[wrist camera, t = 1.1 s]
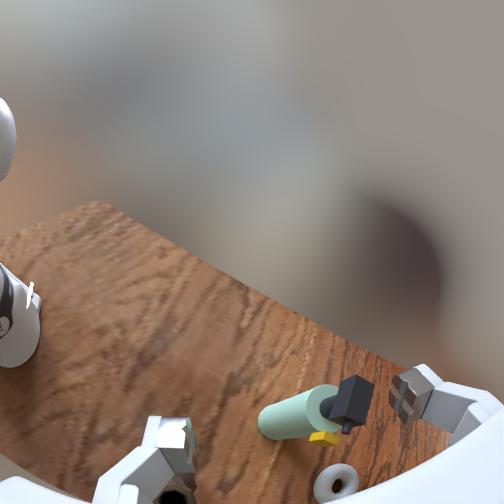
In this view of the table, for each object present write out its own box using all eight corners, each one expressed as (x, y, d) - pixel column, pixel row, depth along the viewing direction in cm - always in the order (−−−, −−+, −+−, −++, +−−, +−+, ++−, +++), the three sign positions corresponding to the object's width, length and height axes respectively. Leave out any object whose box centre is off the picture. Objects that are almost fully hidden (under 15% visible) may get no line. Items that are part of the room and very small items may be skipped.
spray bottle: (248, 434, 38) (326, 421, 23) (267, 398, 44) (346, 360, 28) (282, 450, 38) (372, 440, 22) (298, 414, 44) (386, 383, 28)
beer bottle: (193, 475, 30) (244, 508, 14) (155, 497, 26) (169, 553, 9) (163, 439, 33) (181, 442, 16) (124, 460, 28) (101, 484, 11)
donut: (358, 484, 35) (337, 454, 39) (369, 484, 33) (348, 453, 37) (325, 515, 30) (300, 485, 34) (336, 517, 27) (311, 486, 31)
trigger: (308, 441, 26) (322, 439, 24) (311, 432, 27) (326, 430, 25) (323, 447, 26) (338, 445, 24) (326, 439, 27) (341, 436, 25)
